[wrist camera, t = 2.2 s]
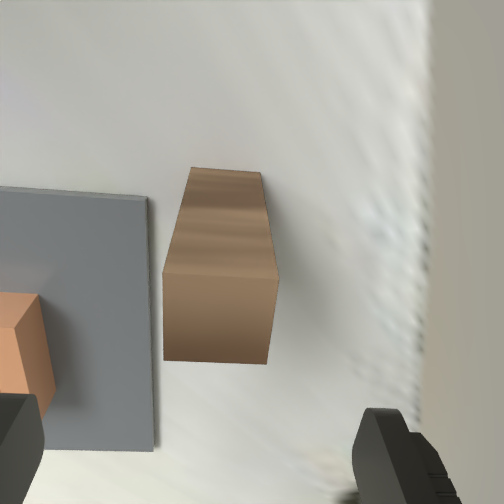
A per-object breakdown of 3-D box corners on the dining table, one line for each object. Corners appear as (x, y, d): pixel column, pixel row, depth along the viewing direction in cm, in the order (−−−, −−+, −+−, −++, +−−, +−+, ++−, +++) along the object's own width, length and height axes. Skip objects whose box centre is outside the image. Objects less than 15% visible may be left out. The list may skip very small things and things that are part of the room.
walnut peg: (191, 167, 21) (162, 272, 12) (259, 172, 21) (279, 279, 13) (189, 229, 23) (163, 360, 14) (253, 233, 23) (266, 364, 14)
